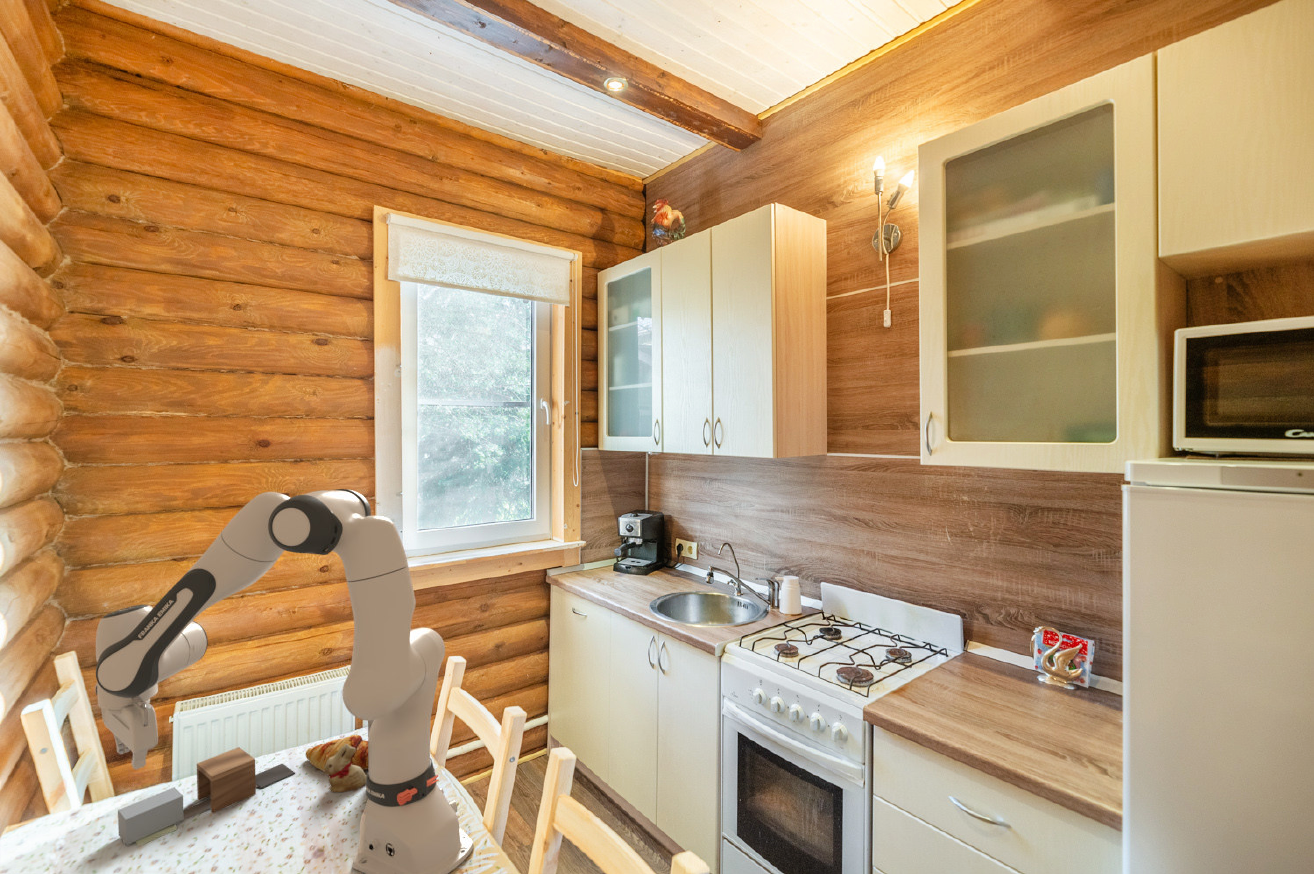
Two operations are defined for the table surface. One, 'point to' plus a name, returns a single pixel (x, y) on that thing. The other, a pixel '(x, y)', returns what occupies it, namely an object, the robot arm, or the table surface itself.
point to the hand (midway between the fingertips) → (131, 759)
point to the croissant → (330, 749)
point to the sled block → (150, 815)
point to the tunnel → (225, 784)
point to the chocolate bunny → (344, 771)
